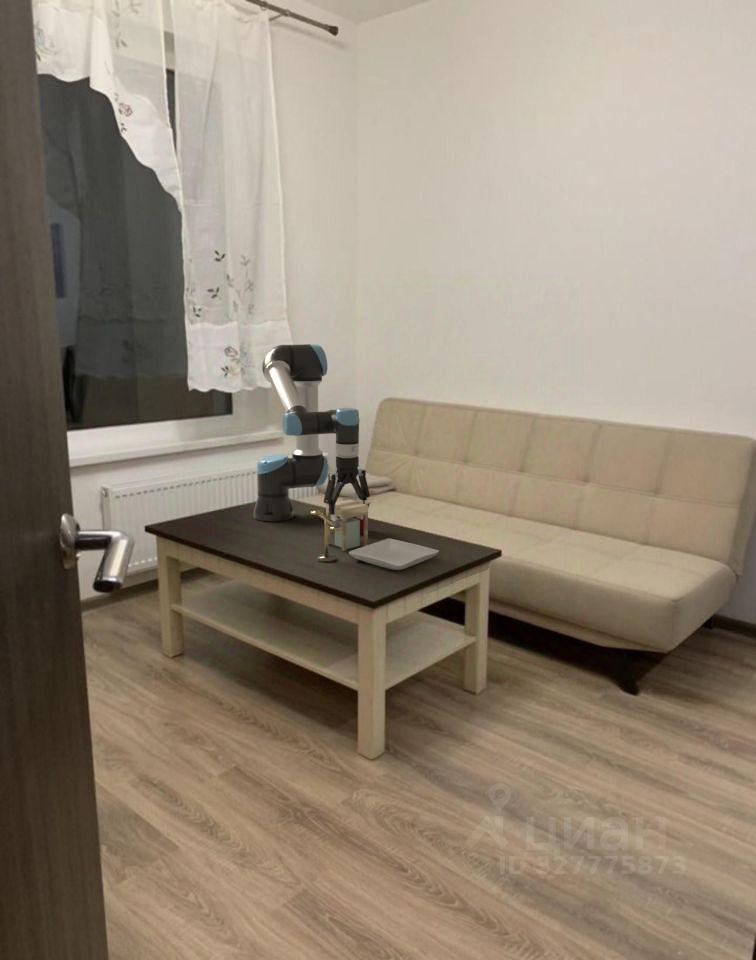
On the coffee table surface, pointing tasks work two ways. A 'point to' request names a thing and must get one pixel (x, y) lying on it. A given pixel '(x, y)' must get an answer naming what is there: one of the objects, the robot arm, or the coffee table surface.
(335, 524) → the balance
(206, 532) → the coffee table surface
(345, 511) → the wooden stool
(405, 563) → the salad plate
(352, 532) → the block
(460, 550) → the coffee table surface
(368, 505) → the plastic cup
